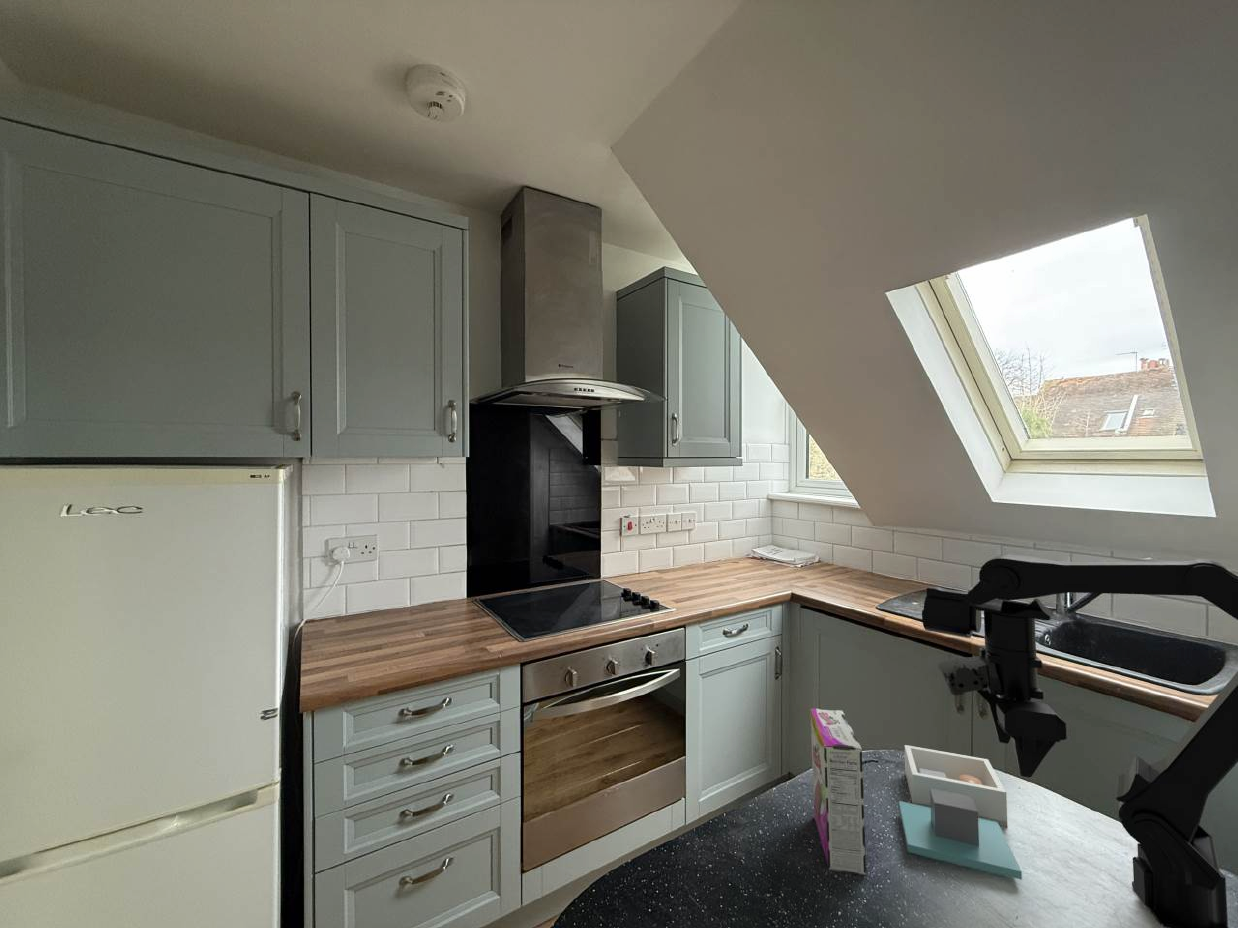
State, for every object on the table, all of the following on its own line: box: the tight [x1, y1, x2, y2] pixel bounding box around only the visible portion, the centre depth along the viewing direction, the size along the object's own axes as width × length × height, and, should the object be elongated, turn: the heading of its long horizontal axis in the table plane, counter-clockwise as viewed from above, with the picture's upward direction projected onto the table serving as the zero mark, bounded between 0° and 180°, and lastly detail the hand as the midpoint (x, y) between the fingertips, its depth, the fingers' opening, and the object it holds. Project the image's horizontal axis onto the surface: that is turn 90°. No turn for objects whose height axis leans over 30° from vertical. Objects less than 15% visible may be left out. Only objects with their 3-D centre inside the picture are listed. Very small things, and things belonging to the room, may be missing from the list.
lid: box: [898, 788, 1023, 881], centre depth 70 cm, size 12×10×6 cm
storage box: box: [904, 744, 1008, 828], centre depth 80 cm, size 12×10×5 cm
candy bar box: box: [809, 707, 867, 876], centre depth 71 cm, size 11×5×16 cm, turn 168°
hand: (1013, 758), depth 70 cm, fingers open, 9 cm apart
